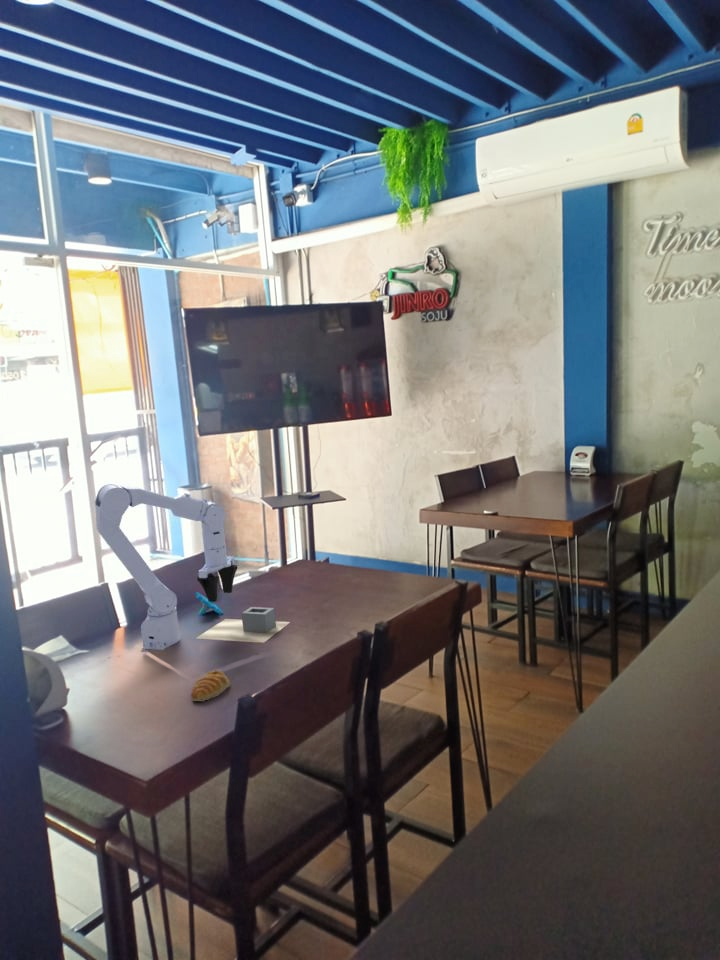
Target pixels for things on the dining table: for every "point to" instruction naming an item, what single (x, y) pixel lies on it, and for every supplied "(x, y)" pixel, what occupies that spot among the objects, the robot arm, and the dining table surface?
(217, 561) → the robot arm
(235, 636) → the shaft board
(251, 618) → the grey hollow rectangular block
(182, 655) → the dining table surface
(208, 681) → the pastry
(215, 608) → the blue cross piece
